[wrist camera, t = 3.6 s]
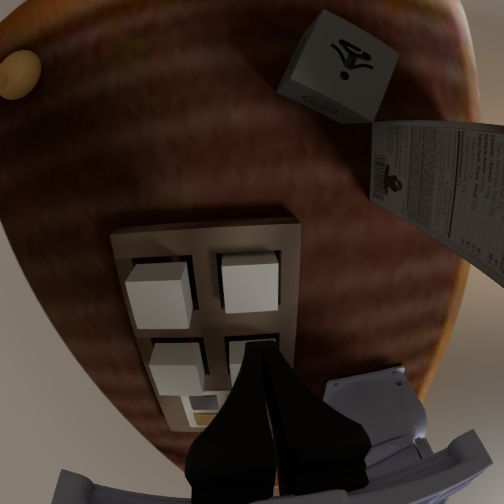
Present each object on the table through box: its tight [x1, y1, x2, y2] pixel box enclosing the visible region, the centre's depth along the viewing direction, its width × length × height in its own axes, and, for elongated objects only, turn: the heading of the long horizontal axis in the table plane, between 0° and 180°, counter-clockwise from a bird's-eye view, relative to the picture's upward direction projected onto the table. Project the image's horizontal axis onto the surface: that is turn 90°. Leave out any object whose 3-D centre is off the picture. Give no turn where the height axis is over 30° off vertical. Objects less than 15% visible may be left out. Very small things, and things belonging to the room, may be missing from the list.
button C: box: [222, 250, 278, 314], centre depth 20 cm, size 4×4×3 cm
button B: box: [149, 343, 205, 396], centre depth 21 cm, size 4×4×3 cm
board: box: [110, 217, 301, 432], centre depth 24 cm, size 13×23×2 cm, turn 2°
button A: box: [229, 339, 276, 387], centre depth 22 cm, size 4×4×3 cm
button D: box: [125, 262, 193, 329], centre depth 19 cm, size 4×4×3 cm
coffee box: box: [370, 120, 504, 288], centre depth 12 cm, size 9×6×16 cm
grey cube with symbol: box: [276, 9, 400, 124], centre depth 15 cm, size 5×5×5 cm
